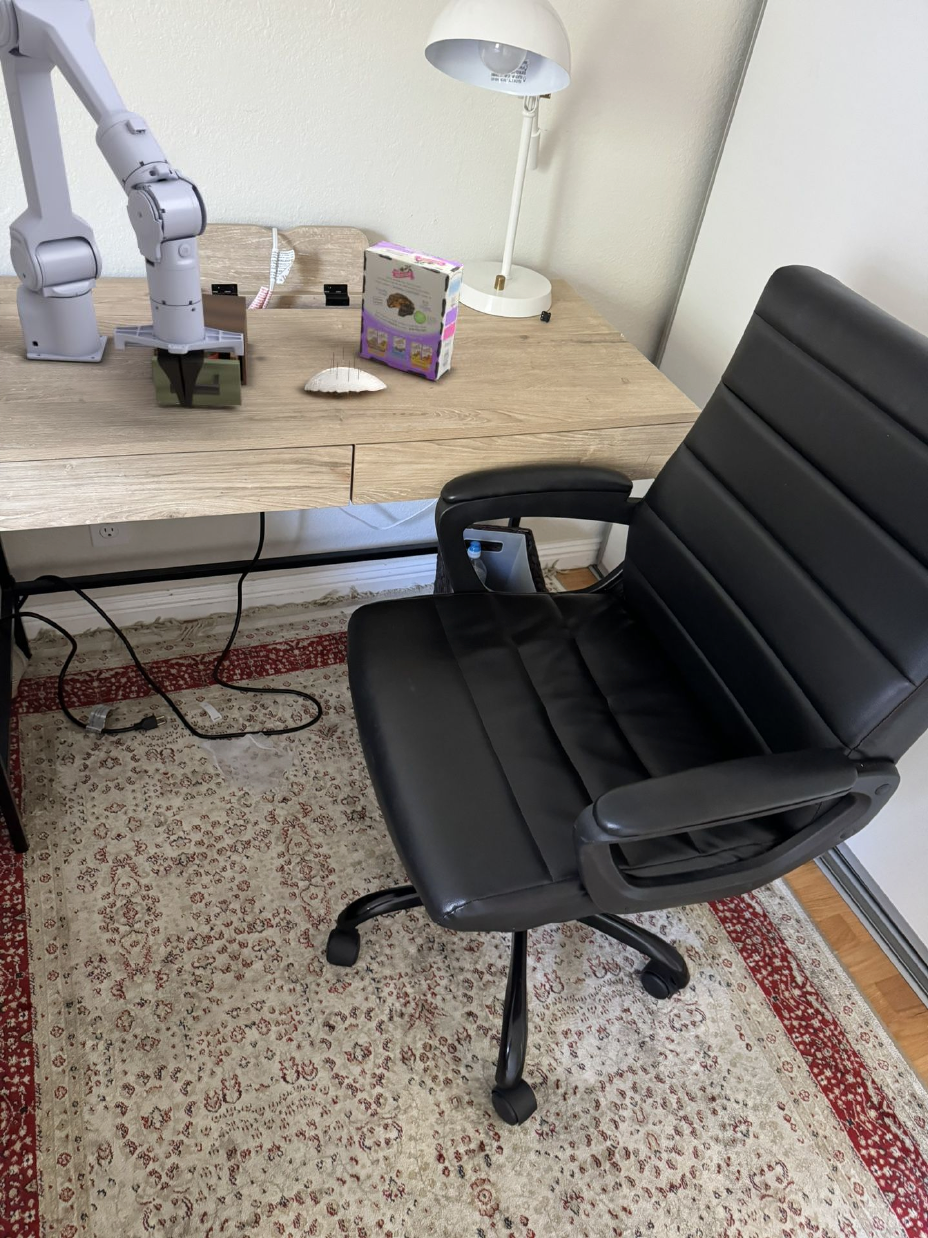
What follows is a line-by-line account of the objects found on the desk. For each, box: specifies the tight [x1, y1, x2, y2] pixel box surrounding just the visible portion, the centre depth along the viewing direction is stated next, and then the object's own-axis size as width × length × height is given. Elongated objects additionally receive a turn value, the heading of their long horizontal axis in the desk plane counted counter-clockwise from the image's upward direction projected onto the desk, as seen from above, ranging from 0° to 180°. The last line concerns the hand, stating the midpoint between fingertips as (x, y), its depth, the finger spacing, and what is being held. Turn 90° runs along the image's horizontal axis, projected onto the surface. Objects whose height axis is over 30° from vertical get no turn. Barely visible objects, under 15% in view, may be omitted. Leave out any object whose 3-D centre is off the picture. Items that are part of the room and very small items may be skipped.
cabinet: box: [151, 293, 249, 386], centre depth 115 cm, size 13×12×8 cm
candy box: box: [358, 240, 465, 382], centre depth 121 cm, size 14×6×16 cm, turn 65°
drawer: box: [151, 352, 242, 407], centre depth 108 cm, size 16×11×6 cm, turn 10°
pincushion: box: [304, 347, 388, 396], centre depth 115 cm, size 12×6×6 cm, turn 106°
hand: (186, 404), depth 101 cm, fingers closed
